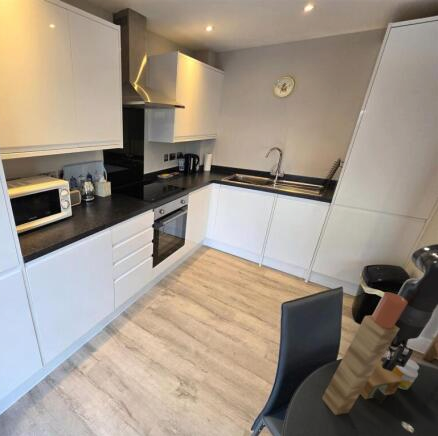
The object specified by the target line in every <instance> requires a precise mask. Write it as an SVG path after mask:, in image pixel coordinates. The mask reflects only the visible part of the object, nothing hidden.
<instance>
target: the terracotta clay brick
mask: <svg viewBox="0 0 438 436" xmlns="http://www.w3.org/2000/svg"><path fill="white" fill-rule="evenodd" d="M407 304H408V302H407V300H405V299H404V298H403V297H401V296H399V295H398V293H397V294H396V293H394V292H388V291H386V292H384V293H383V295H382V296H381V298H380V300H379V302H378V304H377V306H376V308H375V309H374V311H373V313H372V317H371V318H372V320H373V321H374V322H375V323H376V324H378V325H380V326H382V327H384V328H388V329H392V328H393V327H394V325H395V324H396V322H397V320H398V319H399V317H400V315H401V314H402V312H403V310H404V309H405V307H406V305H407Z"/></svg>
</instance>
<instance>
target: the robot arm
mask: <svg viewBox="0 0 438 436" xmlns="http://www.w3.org/2000/svg"><path fill="white" fill-rule="evenodd" d="M410 261H411V262H412V264H413V266H414V267H416V268H417V269H418V270H419V271H420V272H422V273H423V275H422V276H421V278H416V277H415V278H413V277H412V278H408V279H407V280H405V281H404V282H403V284H402V286H401V287H400V289H399V290H398V291H399V292H398V293H397V295H399V296H401V297H403V298H404V299H405V300H407V302H408V304H407V305H406V307H405V309H404V310H403V312H402V314H401V315H400V317H399V319H398V320H397V322H396V324H395V326H397V327H398V328H400V329H399V331H398V333H397V334H396V336H395V337H394V339H393V341H392V342H391V344H390V346H389V347H388V349H387V350H386V351H387V355H386V357H385V359H384V360H383V361H382V362H383V364H382V368H383V369H386V370H388V371H393V369H394V368H395V366H396V365H398V366H401V367H405V365H406V363H407V362H408V360H409V359H410V358H411V357H412V355H413V353H414V349H412V348H410V347H408V346H407V345H408V342H409V340H415V339H417V338H420V335H421V334H422V332H423V331H424V329H425V328H426V327H427V325H428V323H429V322H430V320H431V319H432V316H433V314H434V312H435V310H436V309H437V307H438V243H433V244H428V245H424V246H421V247H419V248H417V249H416V250H414V251H413V252H412V254H411V255H410ZM394 348H395V349H394Z"/></svg>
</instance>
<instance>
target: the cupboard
mask: <svg viewBox="0 0 438 436" xmlns="http://www.w3.org/2000/svg"><path fill="white" fill-rule="evenodd" d="M383 362H384V361H383V360H382V359H381V360H380V362H379V363H378V365H377V367H376V368H375V370H374V372H373V373H372V375H371V376H370V378H369V380H368V381H367V383H366V385H365V386H364V388H363V389H362V391H361V393H360V394H359V395H361V397H362V398H363V399H364V400H368V399H373V398H374V397H369V395H370V393H371V391H372V390H373V388H374V387H375V386H380V385H385V384H387V387H386V389H385V390H384V392H385V393H386V394H387V396H389V395H394V394H395V393H396V391H397V389H398V388H399V385H400V384H401V383H402V381H403V379H402V378H401V377H400V376H398V375H397V374H396V373H395V372H394V371H388V370H386V369H383V368H382V364H383ZM374 399H375V398H374Z"/></svg>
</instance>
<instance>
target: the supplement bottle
mask: <svg viewBox="0 0 438 436" xmlns="http://www.w3.org/2000/svg"><path fill="white" fill-rule="evenodd" d="M419 369H420V366H419V365H418V363H416V362H415V361H414V360H412V359H410V358H409V360H408V362H407V363H406V365H405V367H401V366H398V365H396V366H395V368H394V369H393V371H394V372H395V373H396V374H397V375H398V376H400V377H401V378H402V379H403V381H402V383H401V384H400V385H399V387H398V388H399V389H401V390H409V389H410V388H411V386H412V385H413V383H414V382H415V381H416V379H417V377H418V376H419Z"/></svg>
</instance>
